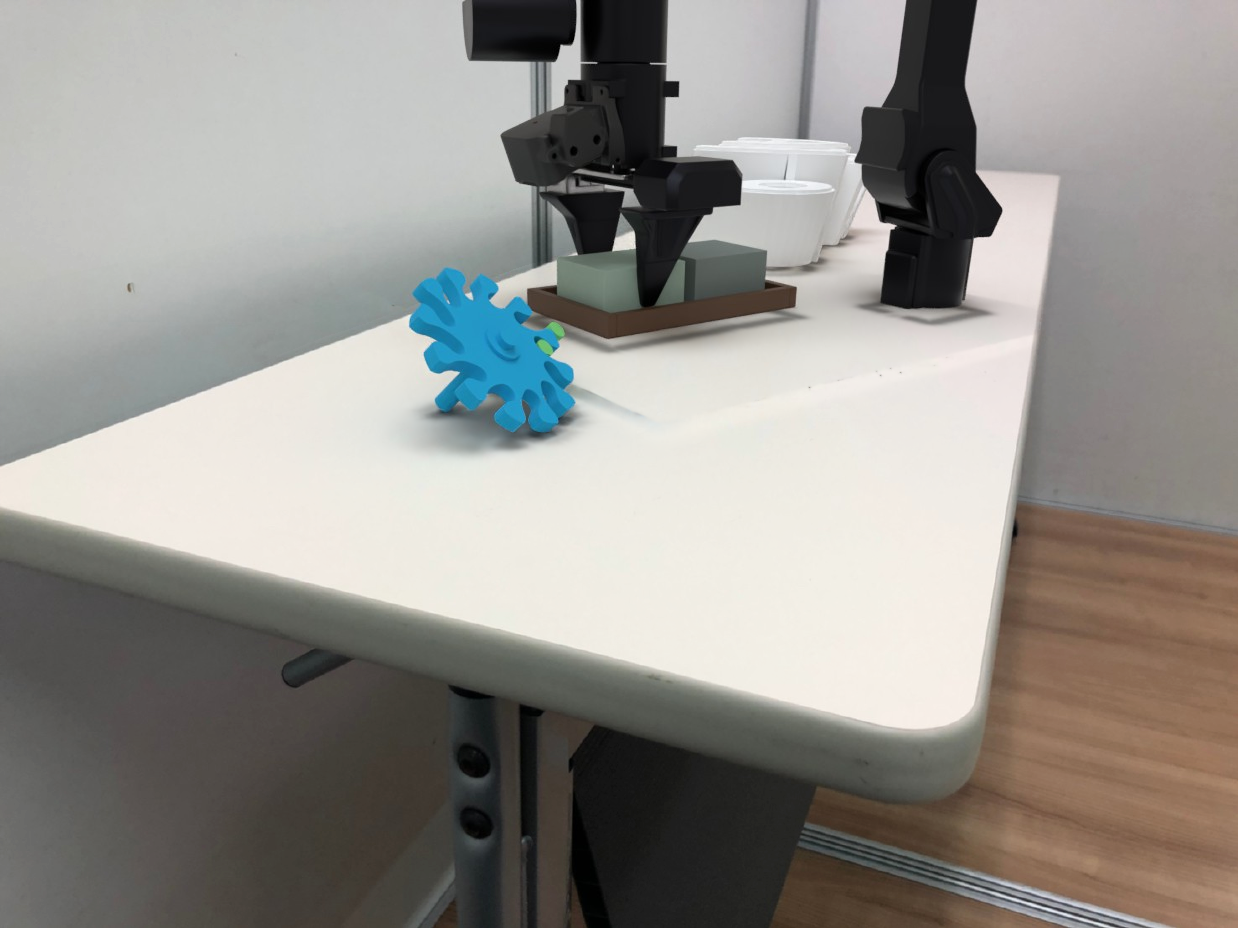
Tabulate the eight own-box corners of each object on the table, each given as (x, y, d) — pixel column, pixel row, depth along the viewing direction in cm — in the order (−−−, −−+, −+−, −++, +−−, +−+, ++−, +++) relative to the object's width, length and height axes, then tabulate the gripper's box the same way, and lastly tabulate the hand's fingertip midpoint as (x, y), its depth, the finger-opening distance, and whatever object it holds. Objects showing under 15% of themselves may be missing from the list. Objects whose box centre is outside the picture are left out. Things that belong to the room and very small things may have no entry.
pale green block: (634, 301, 74) (635, 248, 73) (683, 316, 70) (685, 260, 68) (557, 312, 71) (556, 257, 69) (604, 329, 66) (604, 270, 65)
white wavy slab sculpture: (753, 222, 120) (758, 132, 116) (887, 232, 114) (898, 137, 110) (639, 269, 90) (641, 151, 86) (812, 286, 84) (823, 160, 80)
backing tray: (705, 292, 81) (707, 265, 81) (794, 316, 74) (797, 286, 73) (527, 319, 72) (526, 288, 71) (608, 350, 64) (608, 316, 63)
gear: (498, 433, 44) (388, 259, 46) (426, 500, 47) (325, 335, 49) (623, 402, 53) (527, 258, 55) (556, 459, 57) (467, 322, 58)
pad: (712, 289, 79) (714, 239, 77) (764, 302, 74) (767, 250, 73) (644, 299, 75) (645, 247, 73) (693, 314, 70) (696, 259, 69)
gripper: (449, 62, 67) (460, 288, 72) (604, 61, 53) (603, 341, 58) (583, 64, 73) (584, 272, 78) (755, 64, 59) (740, 318, 64)
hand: (620, 298), depth 70 cm, fingers closed on pale green block, 6 cm apart
